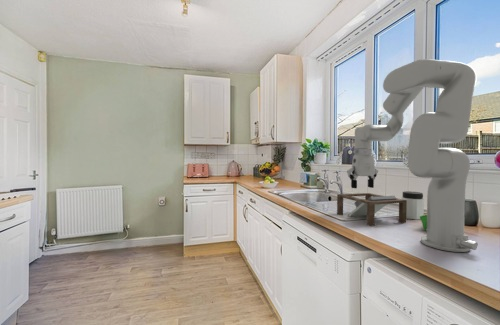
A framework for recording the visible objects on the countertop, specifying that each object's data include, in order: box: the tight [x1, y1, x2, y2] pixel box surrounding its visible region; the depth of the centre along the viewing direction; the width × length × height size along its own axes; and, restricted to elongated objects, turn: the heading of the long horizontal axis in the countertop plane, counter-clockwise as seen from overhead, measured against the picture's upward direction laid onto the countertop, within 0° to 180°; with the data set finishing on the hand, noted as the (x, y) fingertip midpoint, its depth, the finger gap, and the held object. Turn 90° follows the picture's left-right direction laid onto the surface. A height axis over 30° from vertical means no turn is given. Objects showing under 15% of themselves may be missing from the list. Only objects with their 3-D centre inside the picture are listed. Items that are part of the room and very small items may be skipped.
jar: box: [401, 190, 425, 221], centre depth 117 cm, size 9×8×12 cm
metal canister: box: [354, 201, 362, 209], centre depth 120 cm, size 5×5×5 cm
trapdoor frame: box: [336, 192, 407, 227], centre depth 115 cm, size 22×19×10 cm
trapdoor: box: [348, 195, 397, 218], centre depth 114 cm, size 17×14×2 cm
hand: (362, 187), depth 120 cm, fingers open, 9 cm apart
